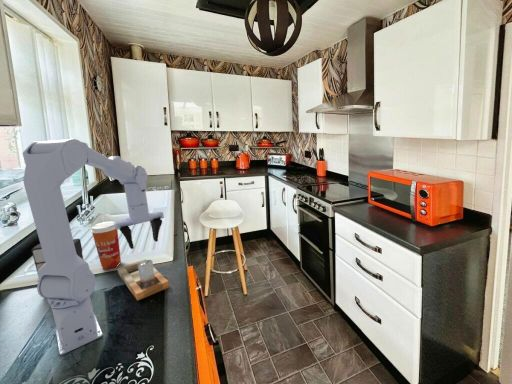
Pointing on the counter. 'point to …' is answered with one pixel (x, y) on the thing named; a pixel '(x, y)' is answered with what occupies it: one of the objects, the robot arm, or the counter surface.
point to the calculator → (39, 255)
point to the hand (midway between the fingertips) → (144, 244)
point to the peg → (146, 273)
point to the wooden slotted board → (135, 284)
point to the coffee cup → (107, 244)
